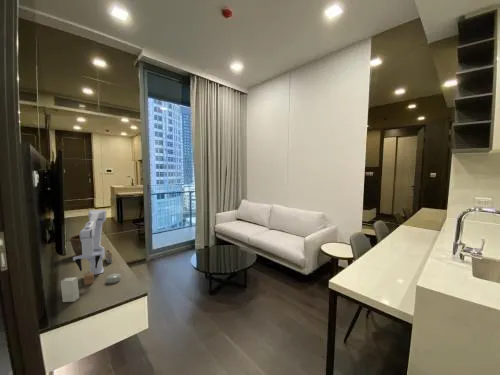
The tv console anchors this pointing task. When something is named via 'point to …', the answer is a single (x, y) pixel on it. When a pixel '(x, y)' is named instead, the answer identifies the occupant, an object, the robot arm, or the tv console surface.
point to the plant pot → (76, 244)
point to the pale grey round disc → (113, 278)
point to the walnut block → (89, 278)
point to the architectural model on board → (108, 256)
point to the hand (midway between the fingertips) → (88, 269)
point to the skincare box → (70, 289)
